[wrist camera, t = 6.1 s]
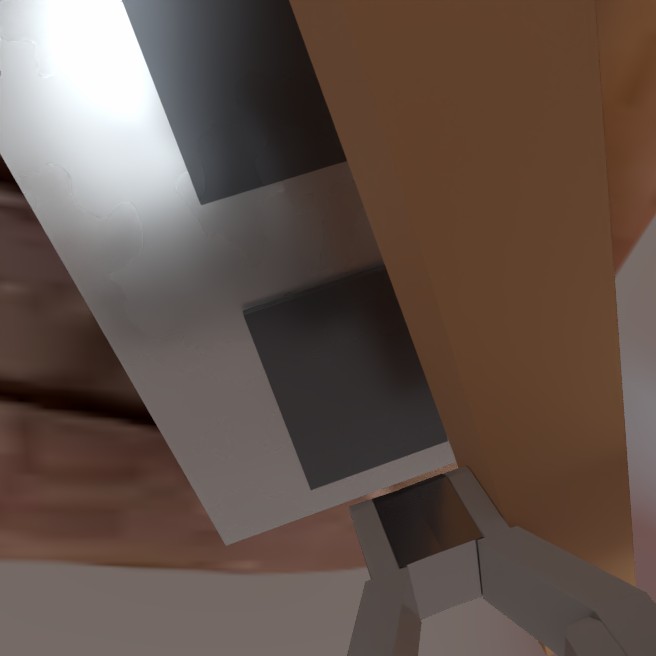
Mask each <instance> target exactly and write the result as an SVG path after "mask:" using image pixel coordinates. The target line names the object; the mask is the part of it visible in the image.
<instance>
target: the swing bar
mask: <svg viewBox="0 0 656 656" xmlns="http://www.w3.org/2000/svg"><path fill="white" fill-rule="evenodd" d="M289 1H290V4H291V7H292V10H293V13H294V15H295V18H296V21H297V24H298V26H299V29H300V32H301V35H302V37H303V40H304V43H305V46H306V48H307V51H308V54H309V57H310V59H311V62H312V65H313V68H314V70H315V73H316V76H317V79H318V81H319V84H320V87H321V90H322V92H323V95H324V98H325V101H326V104H327V106H328V109H329V112H330V115H331V117H332V120H333V123H334V126H335V128H336V131H337V134H338V137H339V139H340V142H341V145H342V148H343V150H344V153H345V156H346V159H347V161H348V164H349V167H350V170H351V172H352V175H353V178H354V181H355V184H356V186H357V189H358V192H359V195H360V197H361V200H362V203H363V206H364V208H365V211H366V214H367V217H368V219H369V222H370V225H371V228H372V230H373V233H374V236H375V239H376V241H377V244H378V247H379V250H380V252H381V255H382V258H383V261H384V263H385V266H386V269H387V272H388V275H389V277H390V280H391V283H392V286H393V288H394V291H395V294H396V297H397V299H398V302H399V305H400V308H401V310H402V313H403V316H404V319H405V321H406V324H407V327H408V330H409V332H410V335H411V338H412V341H413V343H414V346H415V349H416V352H417V354H418V357H419V360H420V363H421V366H422V368H423V371H424V374H425V377H426V379H427V382H428V385H429V388H430V390H431V393H432V396H433V399H434V401H435V404H436V407H437V410H438V412H439V415H440V418H441V421H442V423H443V426H444V429H445V432H446V434H447V437H448V440H449V443H450V445H451V448H452V451H453V454H454V457H455V459H456V462H457V465H458V468H461V467H464V466H467V467H468V468H469V469H471V471H472V472H473V474H474V475H475V477H476V478H477V480H478V481H479V483H480V484H481V486H482V487H483V488H484V490H485V491H486V493H487V494H488V496H489V497H490V499H491V500H492V502H493V503H494V505H495V506H496V508H497V509H498V510H499V512H500V513H501V515H502V516H503V518H504V519H505V521H506V522H507V523H508V525H509V526H510V528H512V527H515V526H519V527H521V528H523V529H525V530H527V531H529V532H531V533H533V534H534V535H536V536H538V537H540V538H542V539H544V540H546V541H548V542H550V543H552V544H554V545H556V546H558V547H560V548H561V549H563V550H565V551H567V552H569V553H571V554H573V555H575V556H577V557H579V558H581V559H583V560H585V561H586V562H588V563H590V564H592V565H594V566H596V567H598V568H600V569H602V570H604V571H606V572H608V573H610V574H611V575H613V576H615V577H617V578H619V579H621V580H623V581H625V582H627V583H629V584H631V585H633V586H635V587H636V576H635V562H634V547H633V533H632V519H631V505H630V490H629V478H628V477H629V476H628V463H627V447H626V433H625V419H624V405H623V390H622V376H621V362H620V347H619V333H618V319H617V304H616V290H615V276H614V261H613V247H612V233H611V219H610V204H609V190H608V176H607V161H606V147H605V133H604V118H603V104H602V90H601V75H600V61H599V47H598V33H597V18H596V4H595V0H289ZM539 643H540V645H541V646H542V648H543V650H544V651H545V653H546V655H547V656H550V655H551V654H554V652H553V651H551V650H550V649H549V648H547V647H546V646H545V645H544V644H542V643H541V642H540V641H539Z"/></svg>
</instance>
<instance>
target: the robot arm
mask: <svg viewBox="0 0 656 656" xmlns="http://www.w3.org/2000/svg"><path fill="white" fill-rule="evenodd" d="M349 510H350V514H351V517H352V520H353V524H354V527H355V530H356V533H357V536H358V540H359V543H360V546H361V549H362V553H363V556H364V559H365V562H366V565H367V568H368V572H369V574H370V577H371V580H369V581H366V582H365V586H364V590H363V594H362V598H361V602H360V606H359V610H358V614H357V618H356V622H355V626H354V630H353V634H352V638H351V642H350V646H349V650H348V654H347V656H418V650H419V641H420V631H421V620H422V619H424V618H427V617H429V616H431V615H433V614H436V613H438V612H441V611H443V610H446V609H448V608H450V607H453V606H456V605H459V604H462V603H465V602H468V601H471V600H473V599H476V598H479V597H482V596H483V599H485V600H486V601H487V602H488V603H490V604H491V605H492V606H494V607H495V608H496V609H498V610H499V611H500V612H502V613H503V614H504V615H506V616H507V617H508V618H510V619H511V620H512V621H514V622H515V623H516V624H517V625H519V626H520V627H521V628H523V629H524V630H525V631H527V632H528V633H529V634H530V635H532V636H533V637H534V638H536V639H537V640H538V641H540V642H541V643H542V644H544V645H545V646H546V647H547V648H549V649H550V650H551V651H553V652H554V653H555V654H557V655H558V656H656V603H655V602H654V601H653V600H652V599H651V598H650V597H649V595H648V594H647V593H646V592H644V591H642V590H640V589H638V588H637V587H635V586H633V585H631V584H629V583H627V582H625V581H623V580H621V579H619V578H617V577H615V576H613V575H611V574H610V573H608V572H606V571H604V570H602V569H600V568H598V567H596V566H594V565H592V564H590V563H588V562H586V561H585V560H583V559H581V558H579V557H577V556H575V555H573V554H571V553H569V552H567V551H565V550H563V549H561V548H560V547H558V546H556V545H554V544H552V543H550V542H548V541H546V540H544V539H542V538H540V537H538V536H536V535H534V534H533V533H531V532H529V531H527V530H525V529H523V528H521V527H519V526H515V527H512V528H510V526H509V525H508V523H507V522H506V521H505V519H504V518H503V516H502V515H501V513H500V512H499V510H498V509H497V508H496V506H495V505H494V503H493V502H492V500H491V499H490V497H489V496H488V494H487V493H486V491H485V490H484V488H483V487H482V486H481V484H480V483H479V481H478V480H477V478H476V477H475V475H474V474H473V472H472V471H471V469H469V468H468V467H467V466H464V467H461V468H458V469H455V470H453V471H450V472H447V473H444V474H440V475H437V476H434V477H432V478H429V479H426V480H424V481H421V482H418V483H416V484H413V485H410V486H408V487H405V488H402V489H400V490H398V491H395V492H392V493H389V494H386V495H383V496H380V497H376V498H373V499H372V500H368V501H365V502H362V503H359V504H356V505H353V506H350V507H349Z"/></svg>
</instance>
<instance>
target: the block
mask: <svg viewBox="0 0 656 656" xmlns="http://www.w3.org/2000/svg"><path fill="white" fill-rule="evenodd" d="M0 154H1V156H2V157H3V159H4V161H5V163H6V164H7V166H8V168H9V170H10V171H11V173H12V175H13V177H14V178H15V180H16V182H17V184H18V185H19V187H20V189H21V191H22V192H23V194H24V196H25V197H26V199H27V201H28V203H29V204H30V206H31V208H32V210H33V211H34V213H35V215H36V217H37V218H38V220H39V222H40V224H41V225H42V227H43V229H44V230H45V232H46V234H47V236H48V237H49V239H50V241H51V243H52V244H53V246H54V248H55V250H56V251H57V253H58V255H59V257H60V258H61V260H62V262H63V263H64V265H65V267H66V269H67V270H68V272H69V274H70V276H71V277H72V279H73V281H74V283H75V284H76V286H77V288H78V290H79V291H80V293H81V295H82V296H83V298H84V300H85V302H86V303H87V305H88V307H89V309H90V310H91V312H92V314H93V316H94V317H95V319H96V321H97V323H98V324H99V326H100V328H101V329H102V331H103V333H104V335H105V336H106V338H107V340H108V342H109V343H110V345H111V347H112V349H113V350H114V352H115V354H116V356H117V357H118V359H119V361H120V362H121V364H122V366H123V368H124V369H125V371H126V373H127V375H128V376H129V378H130V380H131V382H132V383H133V385H134V387H135V389H136V390H137V392H138V394H139V396H140V397H141V399H142V401H143V402H144V404H145V406H146V408H147V409H148V411H149V413H150V415H151V416H152V418H153V420H154V422H155V423H156V425H157V427H158V429H159V430H160V432H161V434H162V435H163V437H164V439H165V441H166V442H167V444H168V446H169V448H170V449H171V451H172V453H173V455H174V456H175V458H176V460H177V462H178V463H179V465H180V467H181V468H182V470H183V472H184V474H185V475H186V477H187V479H188V481H189V482H190V484H191V486H192V488H193V489H194V491H195V493H196V495H197V496H198V498H199V500H200V501H201V503H202V505H203V507H204V508H205V510H206V512H207V514H208V515H209V517H210V519H211V521H212V522H213V524H214V526H215V528H216V529H217V531H218V533H219V534H220V536H221V538H222V540H223V541H224V543H225V545H226V546H227V545H229V544H232V543H235V542H238V541H240V540H243V539H246V538H249V537H251V536H254V535H257V534H260V533H262V532H265V531H268V530H271V529H273V528H276V527H279V526H282V525H284V524H287V523H290V522H292V521H295V520H298V519H301V518H303V517H306V516H309V515H312V514H314V513H317V512H320V511H323V510H325V509H328V508H331V507H334V506H336V505H339V504H342V503H345V502H347V501H350V500H353V499H356V498H358V497H361V496H364V495H367V494H369V493H372V492H375V491H378V490H380V489H383V488H386V487H389V486H391V485H394V484H397V483H400V482H402V481H405V480H408V479H411V478H413V477H416V476H419V475H422V474H424V473H427V472H430V471H433V470H435V469H438V468H441V467H444V466H446V465H449V464H452V463H455V462H456V459H455V457H454V454H453V451H452V448H451V445H450V443H449V440H448V437H447V434H446V432H445V429H444V426H443V423H442V421H441V418H440V415H439V412H438V410H437V407H436V404H435V401H434V399H433V396H432V393H431V390H430V388H429V385H428V382H427V379H426V377H425V374H424V371H423V368H422V366H421V363H420V360H419V357H418V354H417V352H416V349H415V346H414V343H413V341H412V338H411V335H410V332H409V330H408V327H407V324H406V321H405V319H404V316H403V313H402V310H401V308H400V305H399V302H398V299H397V297H396V294H395V291H394V288H393V286H392V283H391V280H390V277H389V275H388V272H387V269H386V266H385V263H384V261H383V258H382V255H381V252H380V250H379V247H378V244H377V241H376V239H375V236H374V233H373V230H372V228H371V225H370V222H369V219H368V217H367V214H366V211H365V208H364V206H363V203H362V200H361V197H360V195H359V192H358V189H357V186H356V184H355V181H354V178H353V175H352V172H351V170H350V167H349V164H348V161H347V159H346V156H345V153H344V150H343V148H342V145H341V142H340V139H339V137H338V134H337V131H336V128H335V126H334V123H333V120H332V117H331V115H330V112H329V109H328V106H327V104H326V101H325V98H324V95H323V92H322V90H321V87H320V84H319V81H318V79H317V76H316V73H315V70H314V68H313V65H312V62H311V59H310V57H309V54H308V51H307V48H306V46H305V43H304V40H303V37H302V35H301V32H300V29H299V26H298V24H297V21H296V18H295V15H294V13H293V10H292V7H291V4H290V1H289V0H0Z"/></svg>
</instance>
